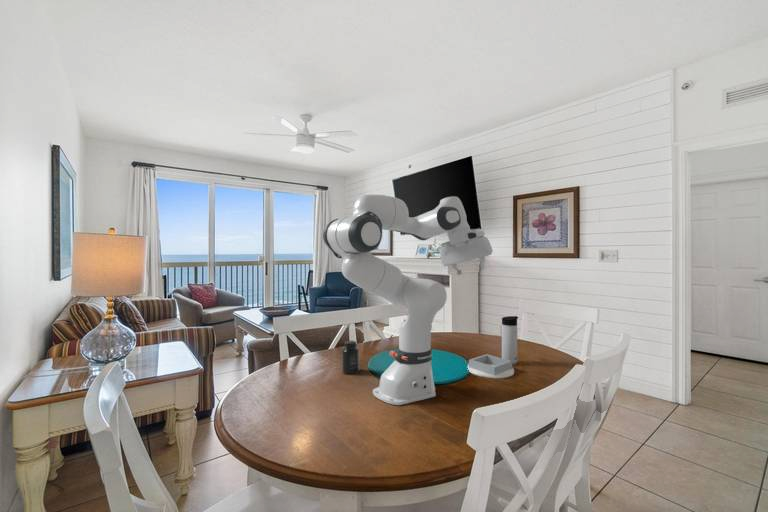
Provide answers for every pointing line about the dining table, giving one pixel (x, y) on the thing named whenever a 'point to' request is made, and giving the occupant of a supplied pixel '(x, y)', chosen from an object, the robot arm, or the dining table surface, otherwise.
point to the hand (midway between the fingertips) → (470, 272)
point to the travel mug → (509, 338)
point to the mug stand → (490, 367)
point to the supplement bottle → (350, 358)
